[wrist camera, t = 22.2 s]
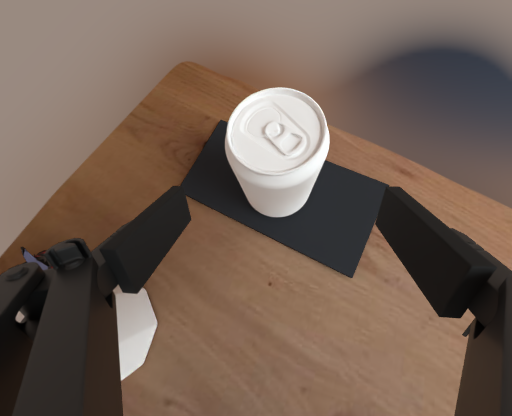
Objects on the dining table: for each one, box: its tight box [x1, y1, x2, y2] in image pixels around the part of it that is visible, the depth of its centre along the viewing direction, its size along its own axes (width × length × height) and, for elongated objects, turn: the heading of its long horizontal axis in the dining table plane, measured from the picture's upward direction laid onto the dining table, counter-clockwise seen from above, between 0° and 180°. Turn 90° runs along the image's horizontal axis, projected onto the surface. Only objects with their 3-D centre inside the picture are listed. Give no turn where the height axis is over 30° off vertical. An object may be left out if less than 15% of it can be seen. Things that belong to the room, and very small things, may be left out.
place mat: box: [181, 120, 389, 278], centre depth 26 cm, size 24×12×1 cm, turn 63°
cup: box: [16, 285, 157, 381], centre depth 16 cm, size 11×11×18 cm
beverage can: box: [225, 88, 329, 217], centre depth 20 cm, size 8×8×12 cm
